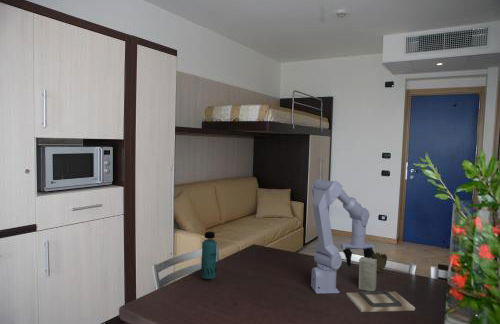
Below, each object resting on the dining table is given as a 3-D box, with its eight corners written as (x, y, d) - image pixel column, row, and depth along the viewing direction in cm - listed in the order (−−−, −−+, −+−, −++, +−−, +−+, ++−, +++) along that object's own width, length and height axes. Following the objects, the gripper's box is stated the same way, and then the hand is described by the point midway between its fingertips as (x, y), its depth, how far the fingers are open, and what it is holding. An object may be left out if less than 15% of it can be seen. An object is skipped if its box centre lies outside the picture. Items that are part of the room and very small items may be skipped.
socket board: (361, 311, 117) (361, 306, 117) (346, 295, 130) (346, 290, 130) (415, 310, 119) (415, 304, 119) (395, 294, 132) (395, 289, 132)
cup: (388, 275, 152) (388, 257, 151) (370, 273, 153) (371, 256, 153) (384, 269, 159) (385, 252, 159) (368, 267, 161) (369, 251, 160)
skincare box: (376, 288, 137) (377, 259, 136) (373, 292, 133) (375, 262, 133) (360, 284, 140) (361, 256, 140) (357, 288, 137) (359, 259, 136)
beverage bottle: (197, 280, 140) (198, 233, 139) (205, 275, 146) (206, 229, 145) (211, 283, 137) (212, 235, 136) (219, 277, 143) (220, 231, 142)
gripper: (370, 232, 151) (368, 261, 151) (338, 232, 149) (337, 262, 150) (377, 236, 144) (376, 267, 144) (345, 236, 142) (343, 268, 143)
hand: (357, 265), depth 146 cm, fingers open, 7 cm apart
